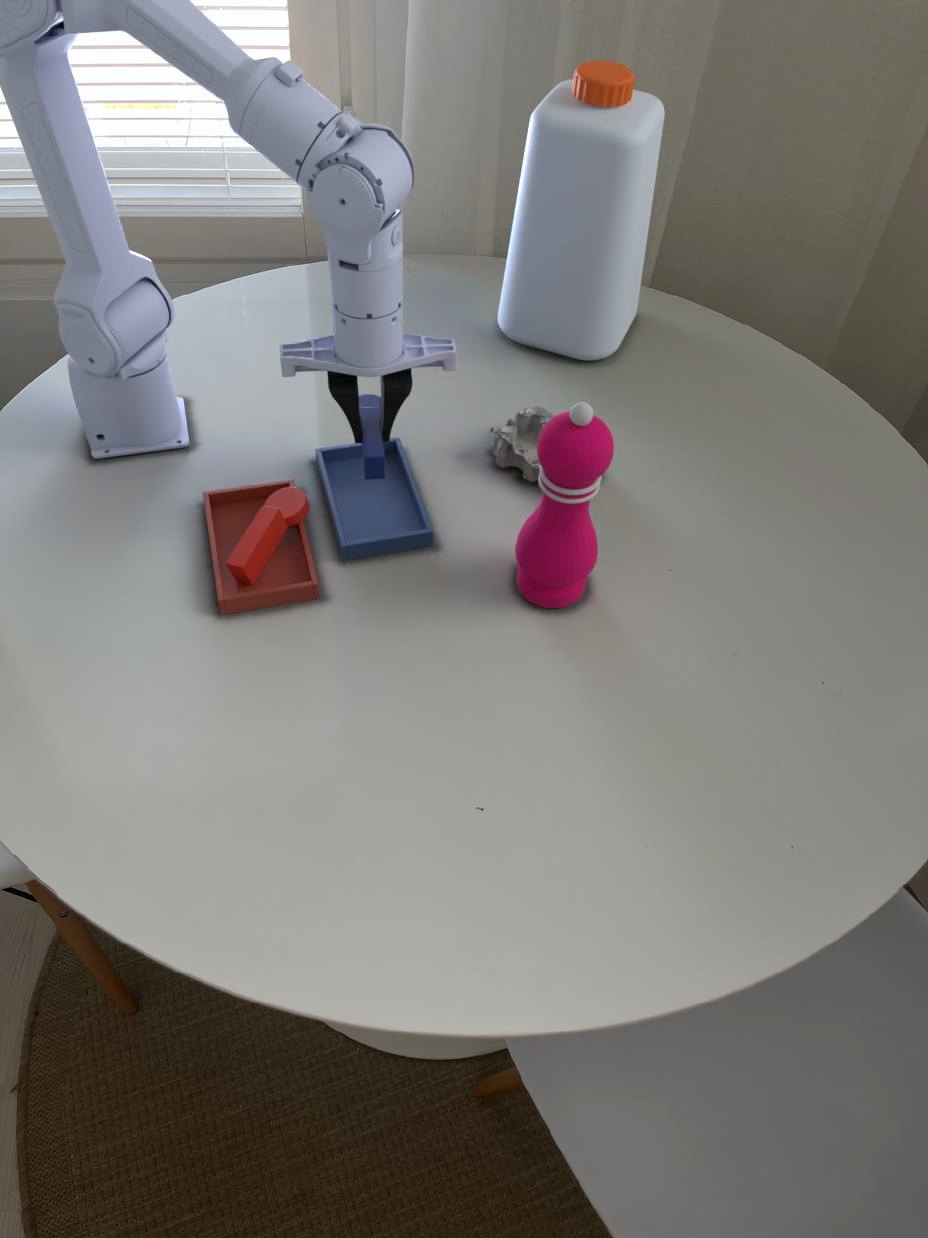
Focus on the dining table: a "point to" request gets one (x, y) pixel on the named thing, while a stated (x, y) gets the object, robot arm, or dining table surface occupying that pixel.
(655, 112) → the plastic bottle
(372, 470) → the blue spoon
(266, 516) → the red spoon
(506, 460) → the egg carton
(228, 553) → the red tray
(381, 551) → the blue tray
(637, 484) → the dining table surface
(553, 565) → the pepper mill
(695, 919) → the dining table surface
